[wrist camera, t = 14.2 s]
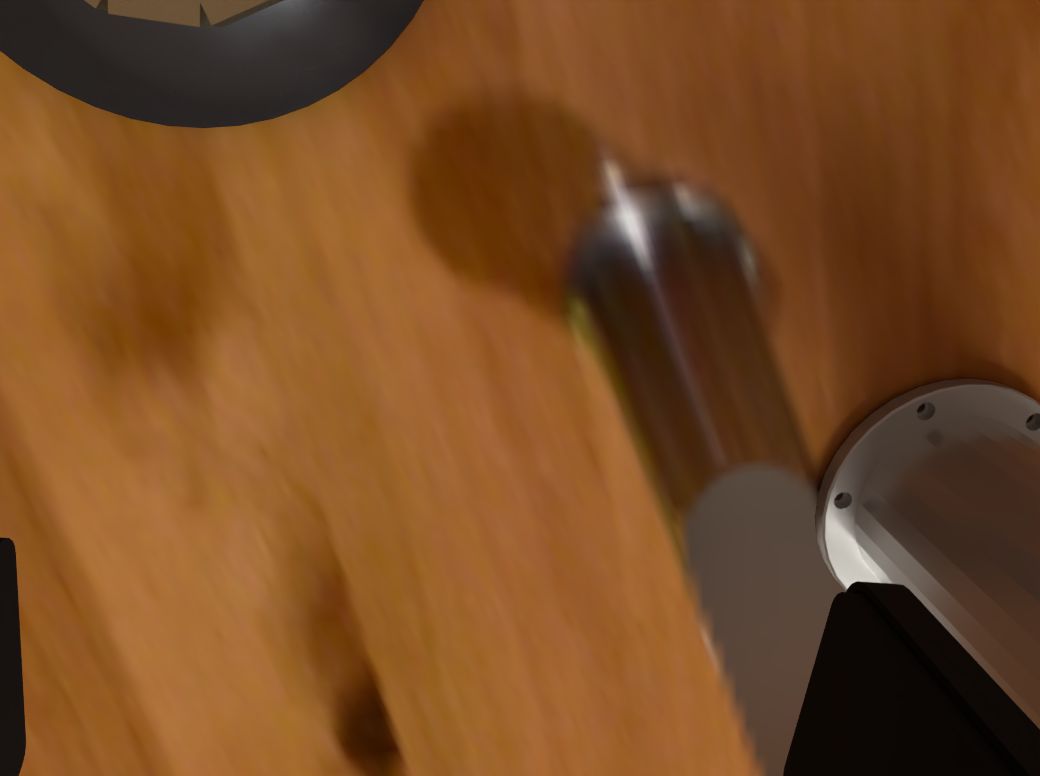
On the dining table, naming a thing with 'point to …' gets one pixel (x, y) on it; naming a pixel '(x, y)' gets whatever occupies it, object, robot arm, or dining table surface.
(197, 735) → the dining table surface
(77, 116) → the dining table surface
